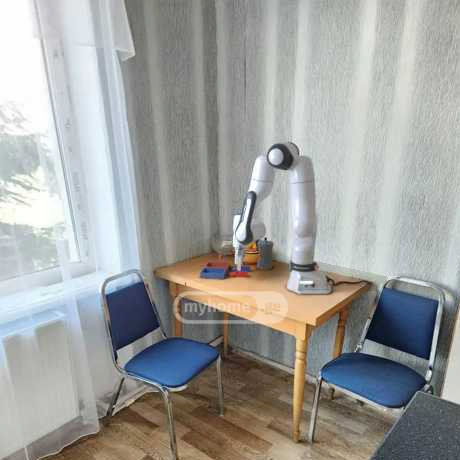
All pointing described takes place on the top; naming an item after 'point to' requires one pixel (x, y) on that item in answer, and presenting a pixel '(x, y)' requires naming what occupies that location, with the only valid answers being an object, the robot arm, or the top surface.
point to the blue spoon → (242, 268)
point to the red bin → (218, 265)
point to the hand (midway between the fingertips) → (240, 267)
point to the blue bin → (213, 273)
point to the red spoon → (239, 274)
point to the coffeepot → (264, 254)
